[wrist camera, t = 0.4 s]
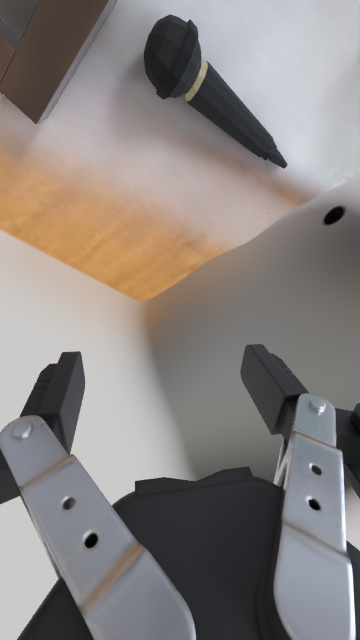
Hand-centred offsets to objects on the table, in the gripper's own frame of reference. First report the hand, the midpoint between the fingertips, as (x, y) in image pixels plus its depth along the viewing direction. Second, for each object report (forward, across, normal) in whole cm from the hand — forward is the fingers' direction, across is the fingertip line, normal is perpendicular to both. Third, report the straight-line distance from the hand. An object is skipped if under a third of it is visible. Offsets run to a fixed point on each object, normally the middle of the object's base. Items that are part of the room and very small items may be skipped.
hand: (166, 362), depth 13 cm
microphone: (+26, -8, -15) cm, 31 cm away
